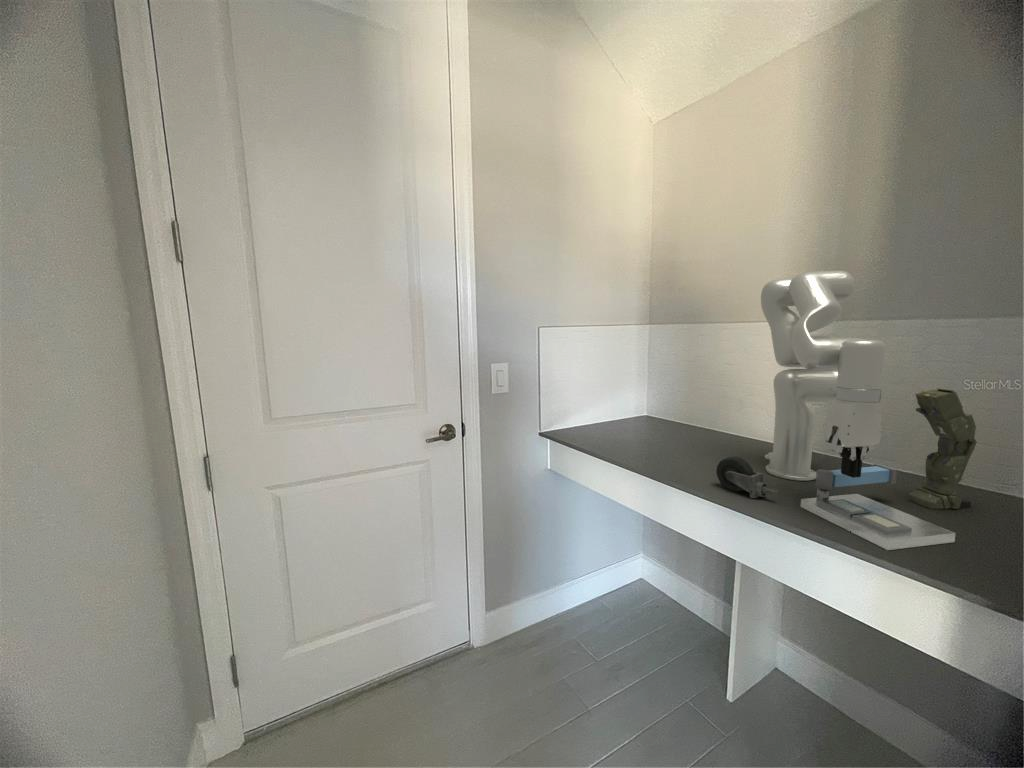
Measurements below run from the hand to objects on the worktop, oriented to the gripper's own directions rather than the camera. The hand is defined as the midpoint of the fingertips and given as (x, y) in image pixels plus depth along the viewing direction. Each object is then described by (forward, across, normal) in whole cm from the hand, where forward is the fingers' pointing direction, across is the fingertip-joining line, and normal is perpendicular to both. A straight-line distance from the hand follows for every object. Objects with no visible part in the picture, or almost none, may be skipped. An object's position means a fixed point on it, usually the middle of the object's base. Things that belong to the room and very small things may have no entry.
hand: (850, 475), depth 91 cm
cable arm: (+5, -8, -6) cm, 12 cm away
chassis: (+10, -3, +3) cm, 11 cm away
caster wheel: (+10, +12, -17) cm, 23 cm away
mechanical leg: (+10, -28, -2) cm, 30 cm away
